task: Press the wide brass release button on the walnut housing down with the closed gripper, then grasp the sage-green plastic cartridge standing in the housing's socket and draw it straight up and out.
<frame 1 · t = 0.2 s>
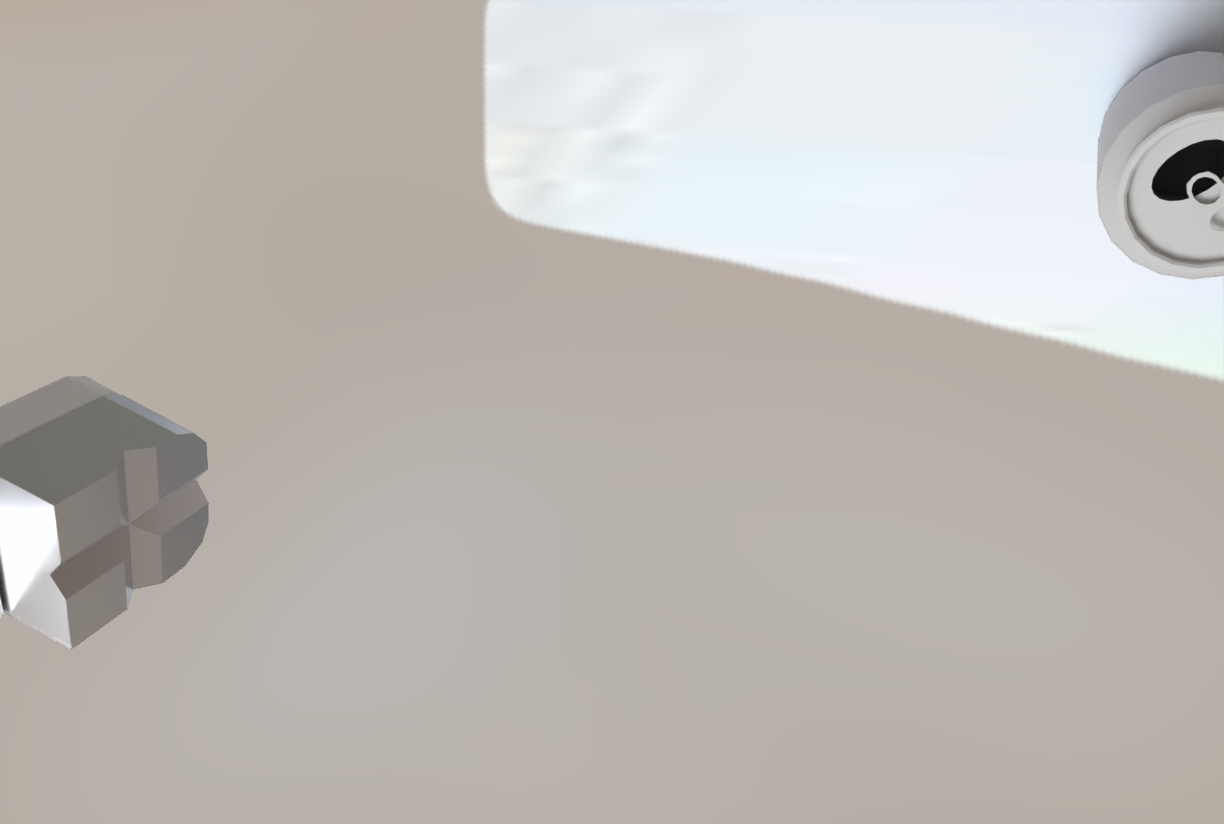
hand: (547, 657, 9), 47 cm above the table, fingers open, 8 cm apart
can: (1187, 132, 46), on the table
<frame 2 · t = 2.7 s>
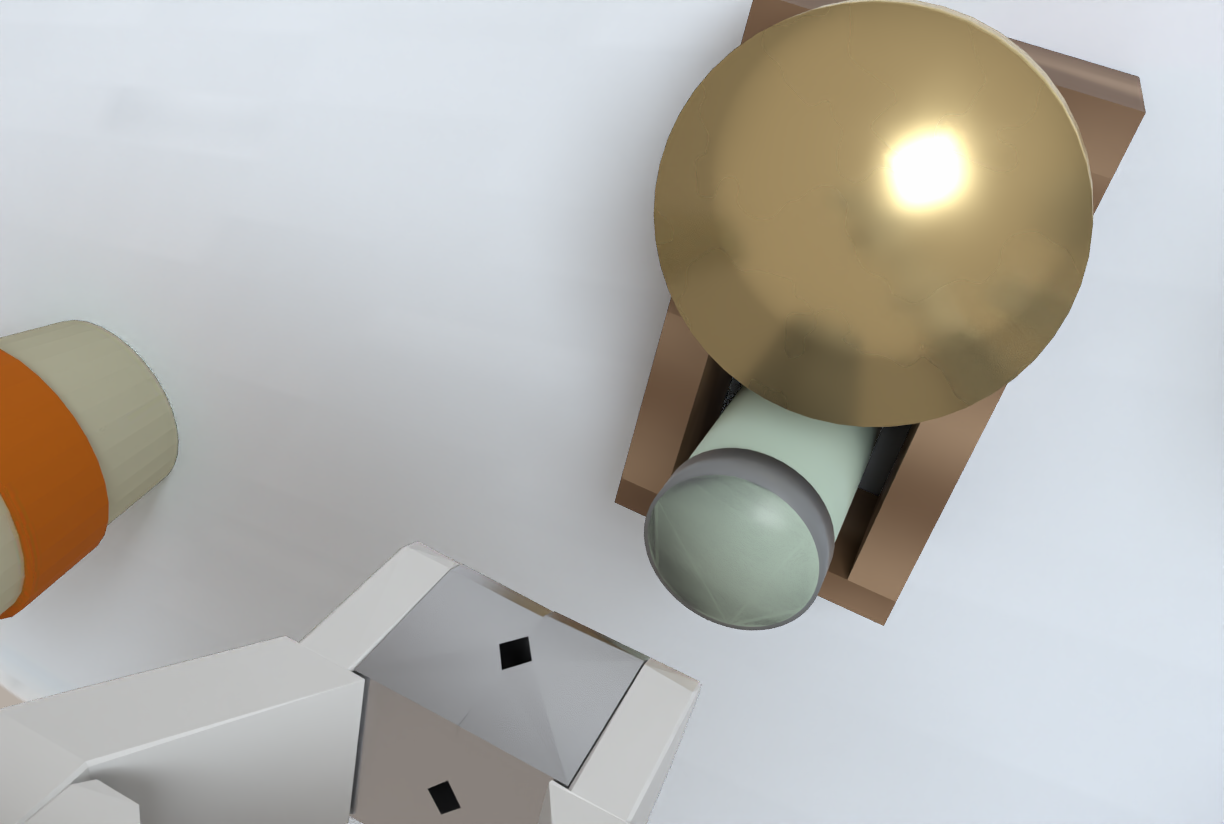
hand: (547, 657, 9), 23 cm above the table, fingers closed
housing: (864, 285, 30), on the table
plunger: (880, 198, 23), point 6 cm above the table, slide at 0.0 cm
reusable coffee cup: (110, 403, 49), on the table
cartridge: (824, 388, 32), resting in housing
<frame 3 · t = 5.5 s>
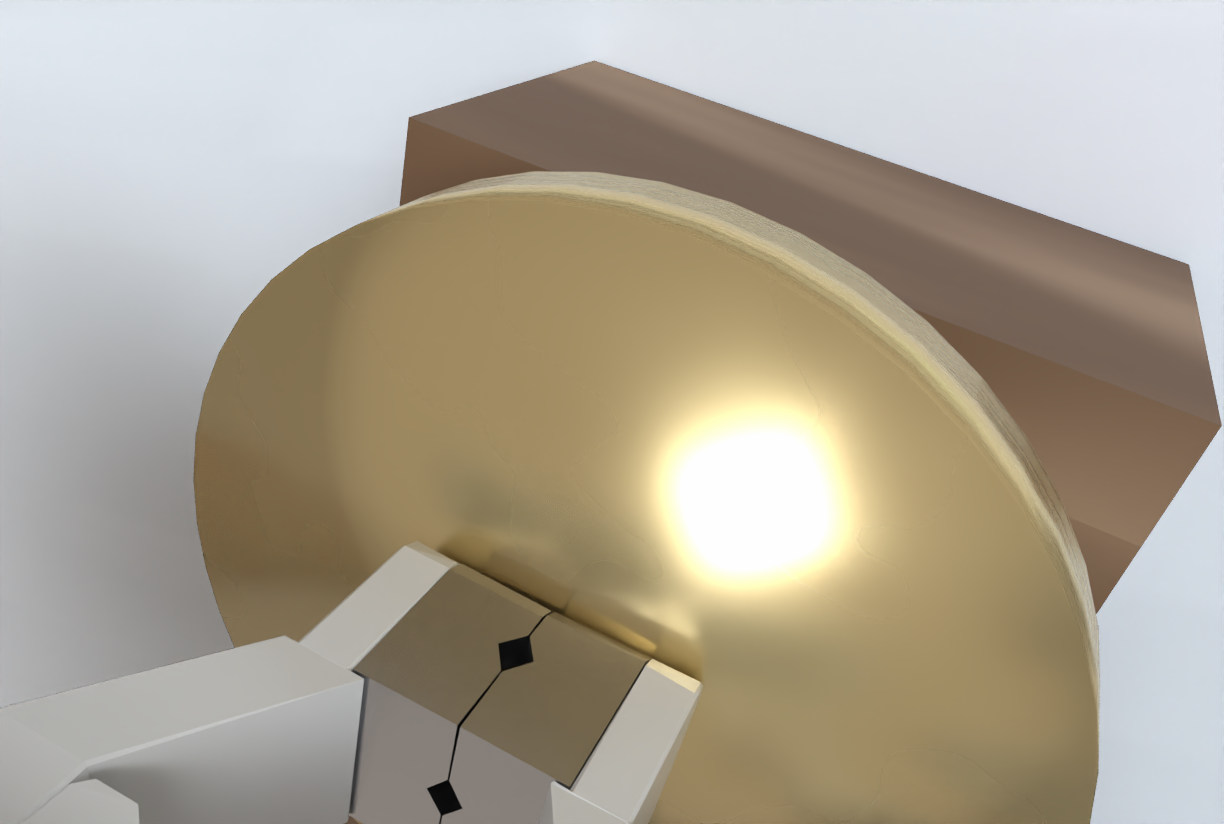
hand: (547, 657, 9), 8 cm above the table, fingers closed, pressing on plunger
housing: (722, 554, 18), on the table
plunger: (679, 514, 12), point 5 cm above the table, slide at 0.7 cm, touching gripper
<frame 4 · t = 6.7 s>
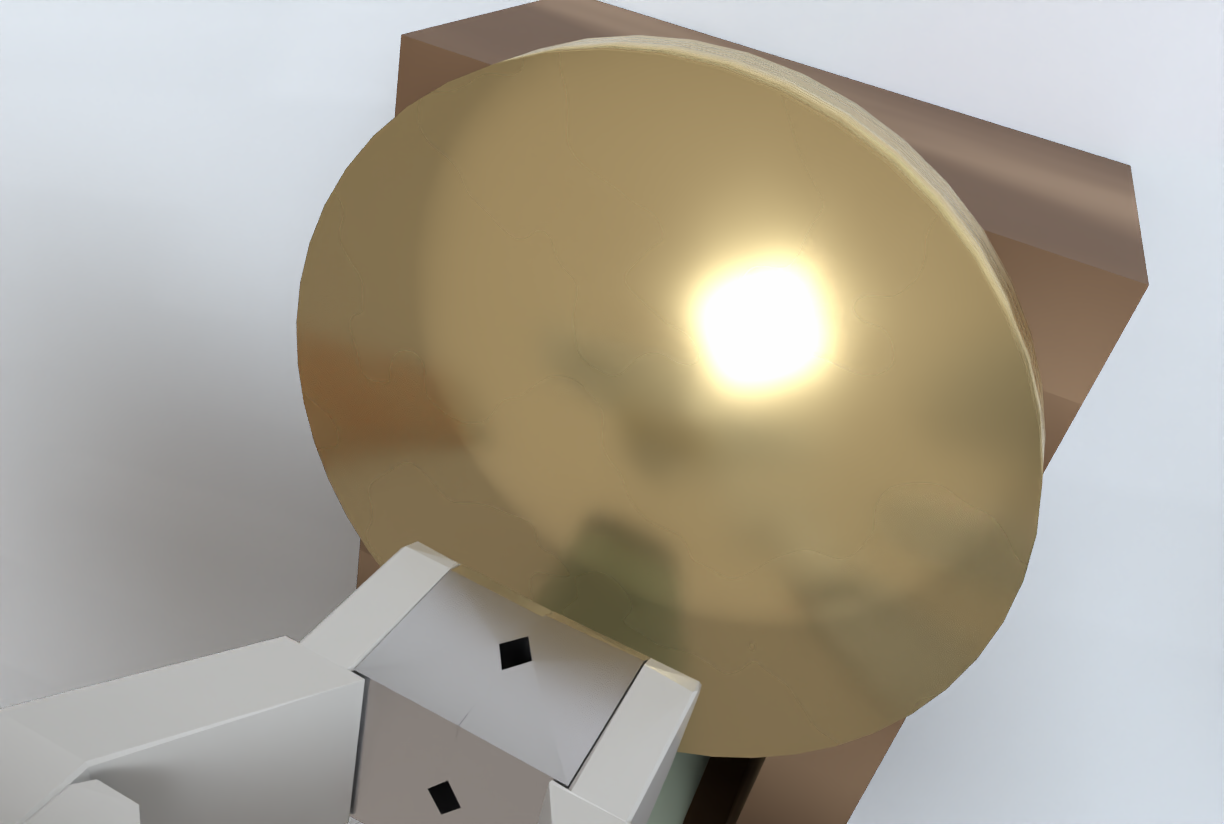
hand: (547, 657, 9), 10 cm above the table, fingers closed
housing: (705, 469, 19), on the table
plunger: (699, 355, 14), point 4 cm above the table, slide at 2.1 cm
cartridge: (661, 605, 22), resting in housing
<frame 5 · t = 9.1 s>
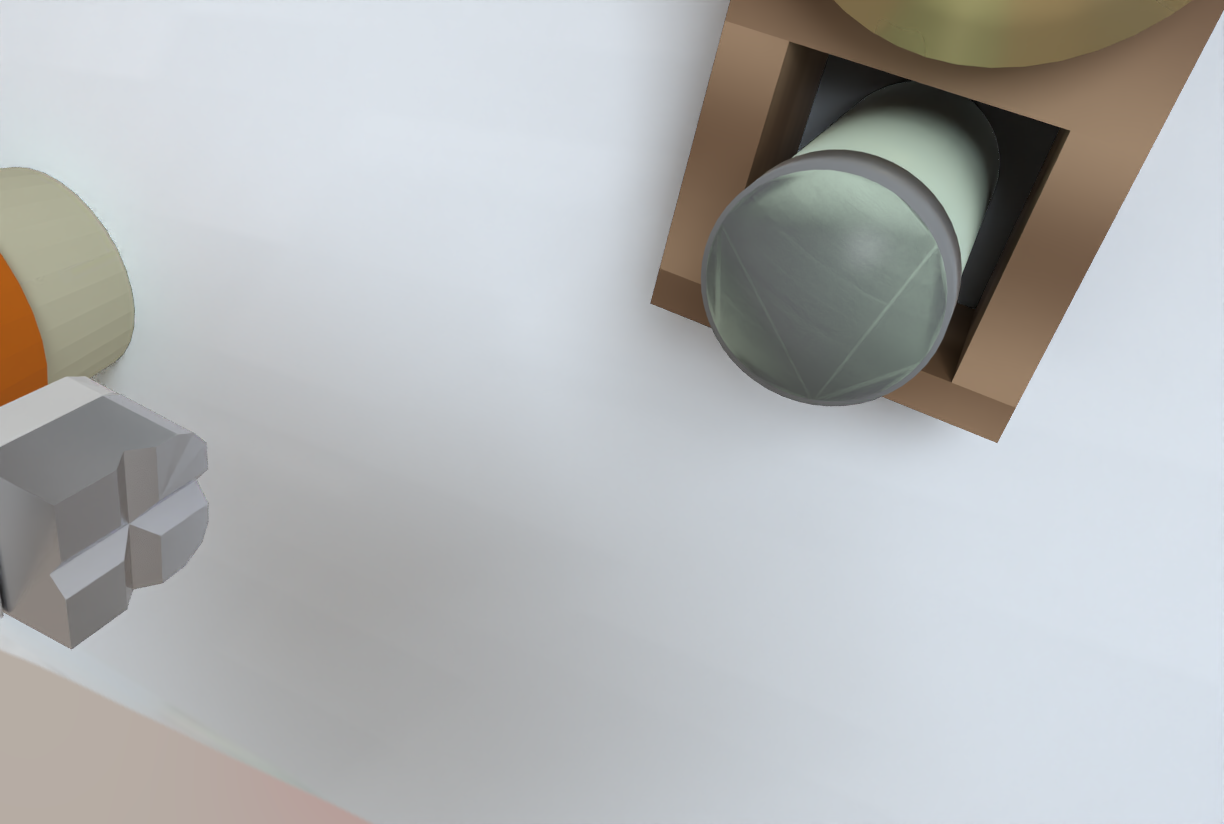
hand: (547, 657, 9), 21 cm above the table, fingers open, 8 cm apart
housing: (968, 19, 24), on the table
reusable coffee cup: (58, 270, 42), on the table
cartridge: (910, 168, 26), resting in housing
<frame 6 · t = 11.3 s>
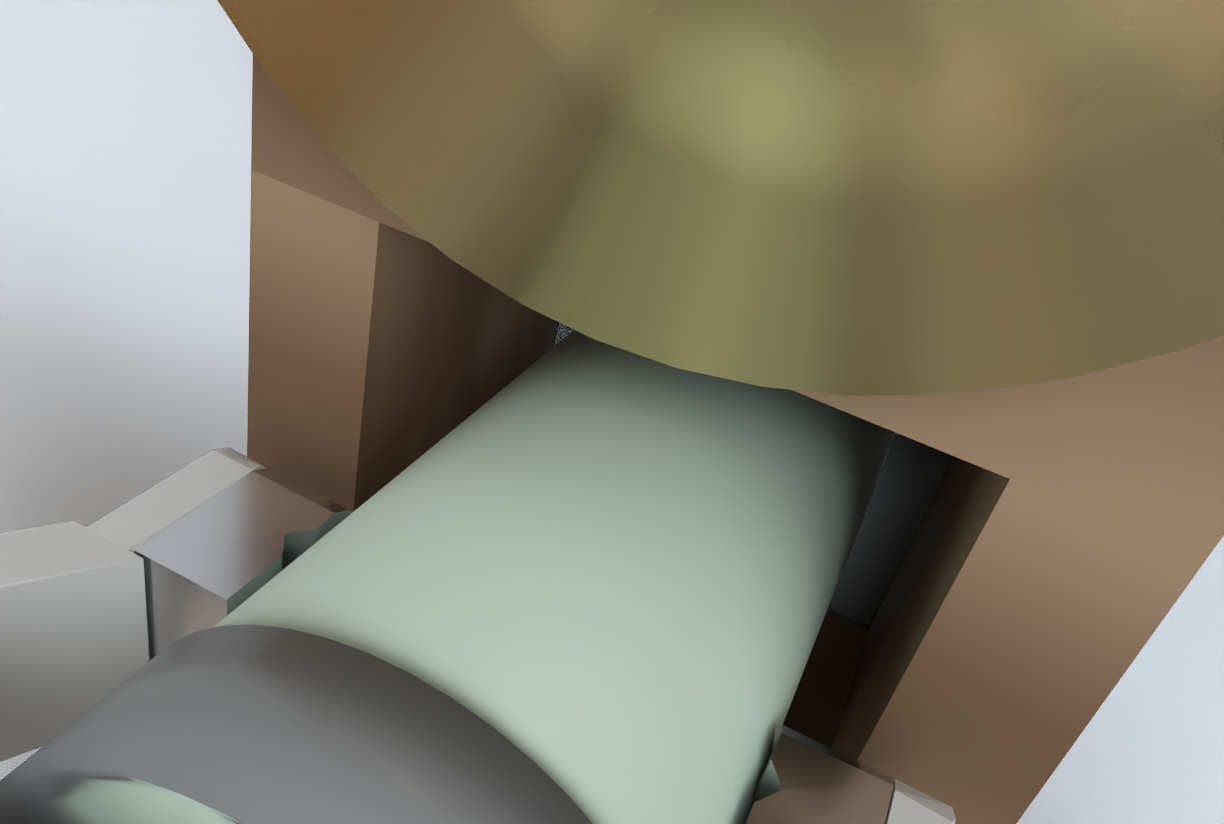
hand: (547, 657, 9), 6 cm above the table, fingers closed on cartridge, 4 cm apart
housing: (829, 135, 12), on the table
cartridge: (742, 389, 14), resting in housing, touching gripper
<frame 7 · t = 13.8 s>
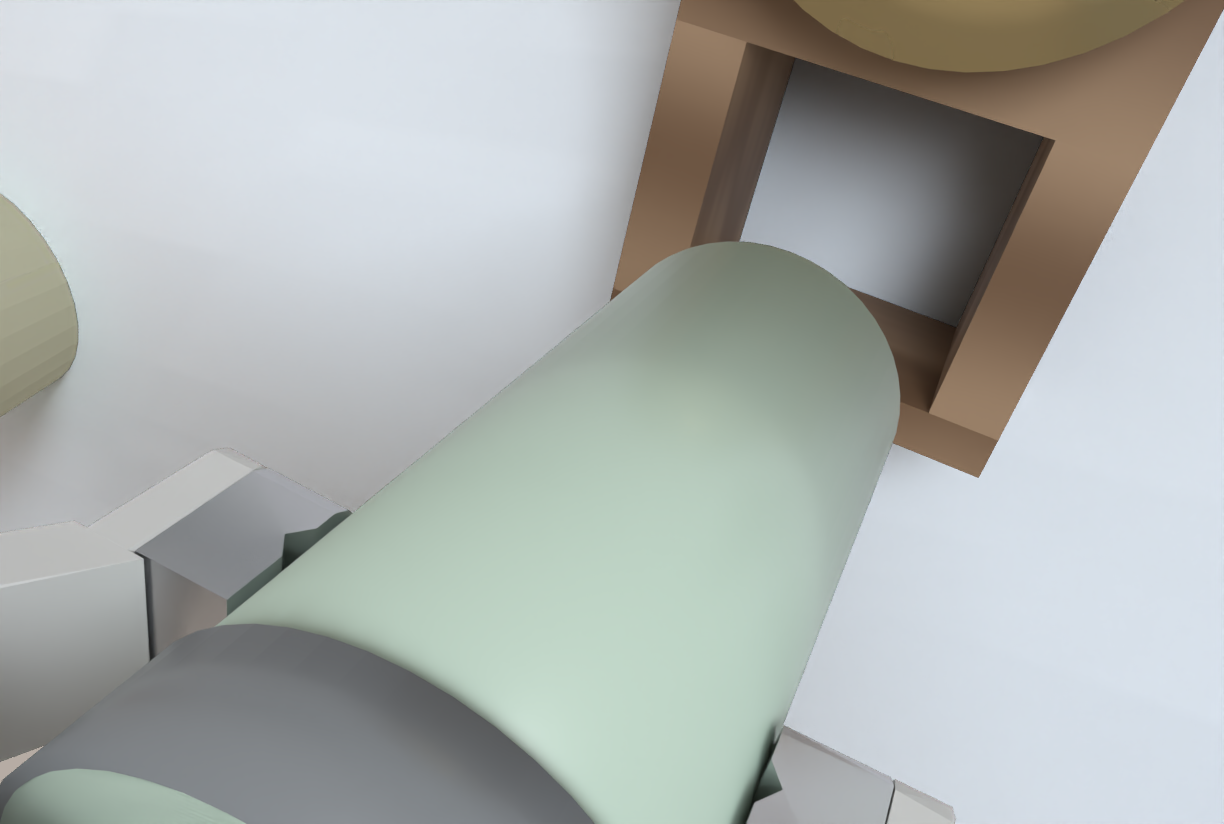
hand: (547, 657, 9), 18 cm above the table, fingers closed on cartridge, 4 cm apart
housing: (945, 16, 22), on the table
cartridge: (743, 390, 14), point 12 cm above the table, touching gripper
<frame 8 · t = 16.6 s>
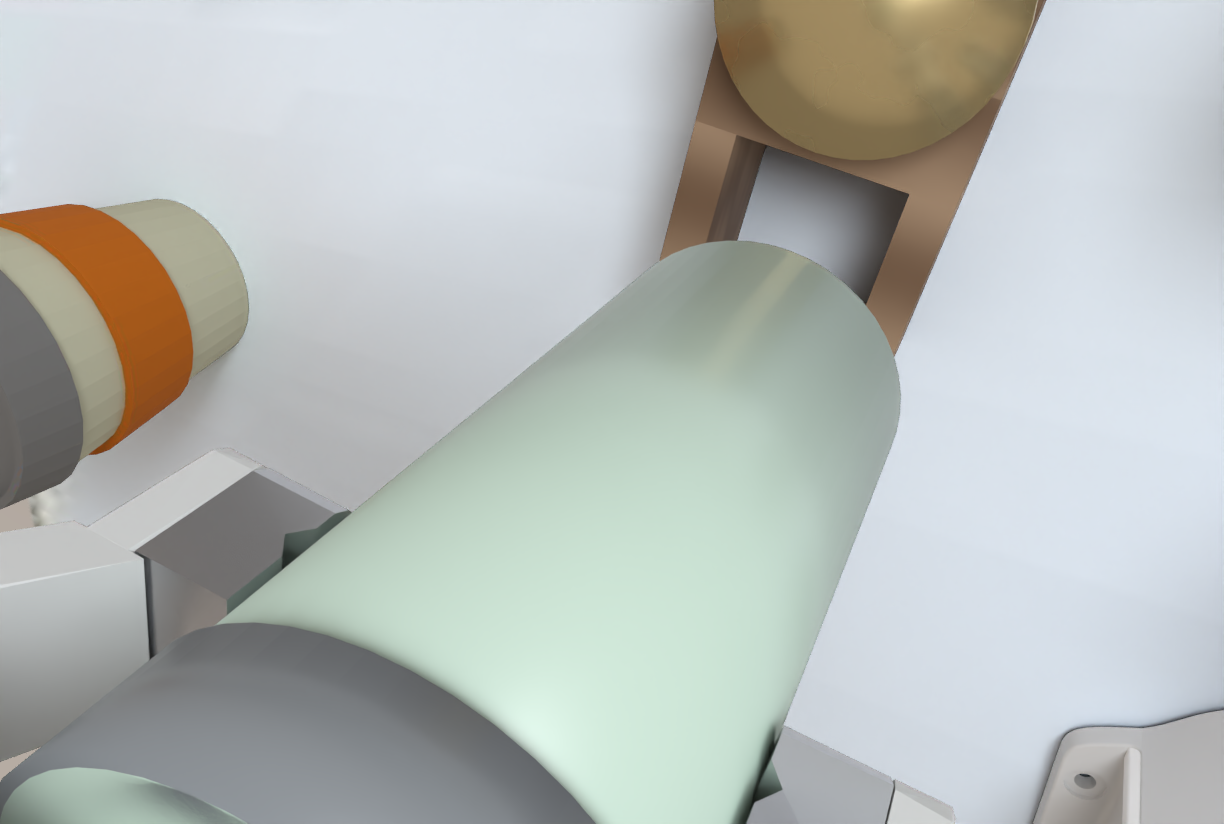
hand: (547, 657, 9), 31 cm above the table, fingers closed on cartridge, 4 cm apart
housing: (860, 112, 36), on the table
reusable coffee cup: (186, 278, 54), on the table
cartridge: (743, 389, 14), point 25 cm above the table, touching gripper
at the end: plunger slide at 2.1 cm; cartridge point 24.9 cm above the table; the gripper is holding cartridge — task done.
